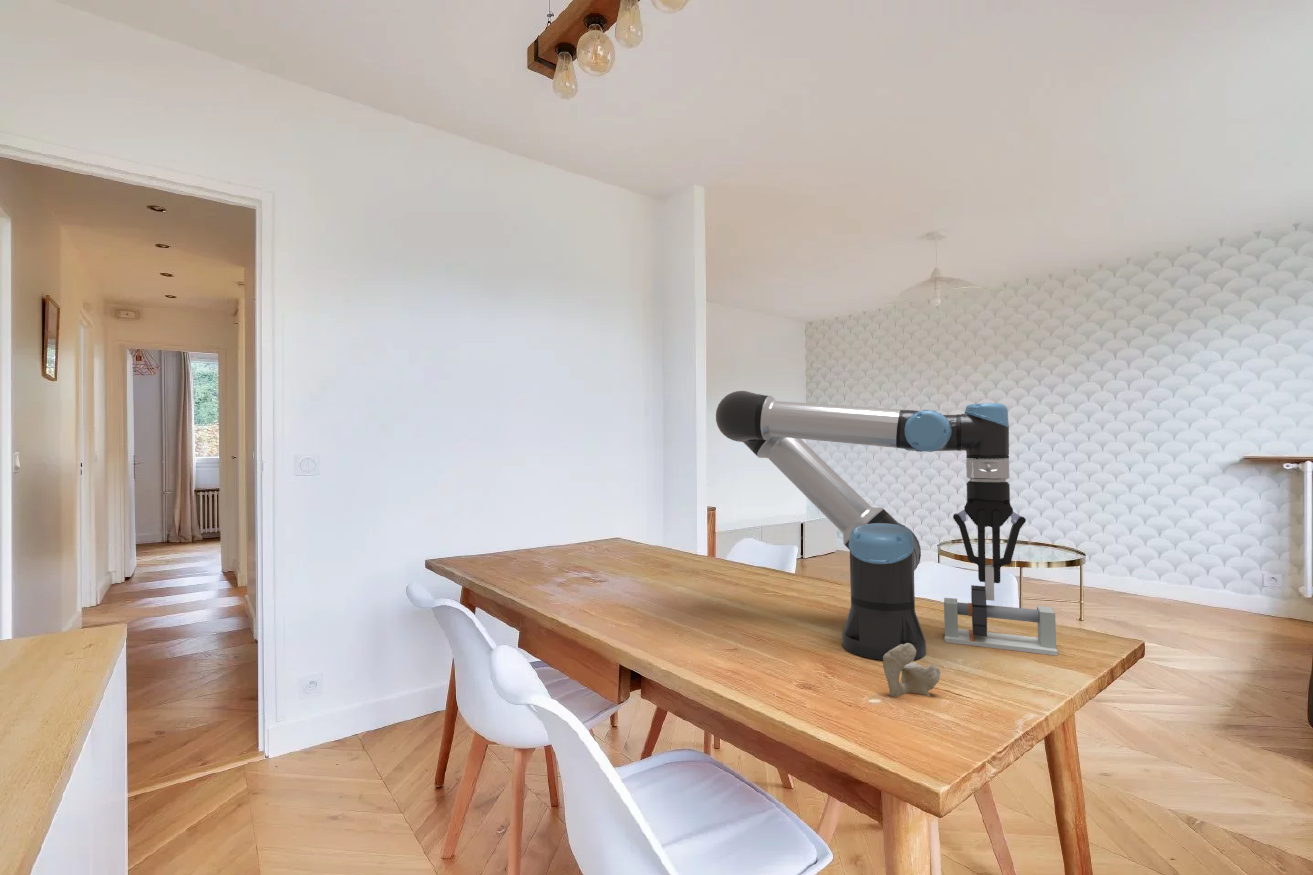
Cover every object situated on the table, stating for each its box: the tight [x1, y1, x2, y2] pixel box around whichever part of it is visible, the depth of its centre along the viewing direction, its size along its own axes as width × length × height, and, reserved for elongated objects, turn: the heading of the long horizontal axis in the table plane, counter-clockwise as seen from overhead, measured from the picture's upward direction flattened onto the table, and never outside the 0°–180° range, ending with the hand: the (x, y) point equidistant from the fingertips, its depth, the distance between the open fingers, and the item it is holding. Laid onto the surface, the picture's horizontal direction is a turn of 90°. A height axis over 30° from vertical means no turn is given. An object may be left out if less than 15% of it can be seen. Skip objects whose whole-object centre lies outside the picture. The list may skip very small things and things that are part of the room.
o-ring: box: [970, 585, 988, 637], centre depth 119 cm, size 2×9×9 cm, turn 153°
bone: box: [882, 643, 941, 698], centre depth 93 cm, size 9×6×10 cm
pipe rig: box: [943, 597, 1059, 656], centre depth 117 cm, size 19×8×7 cm, turn 63°
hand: (989, 598), depth 118 cm, fingers closed
